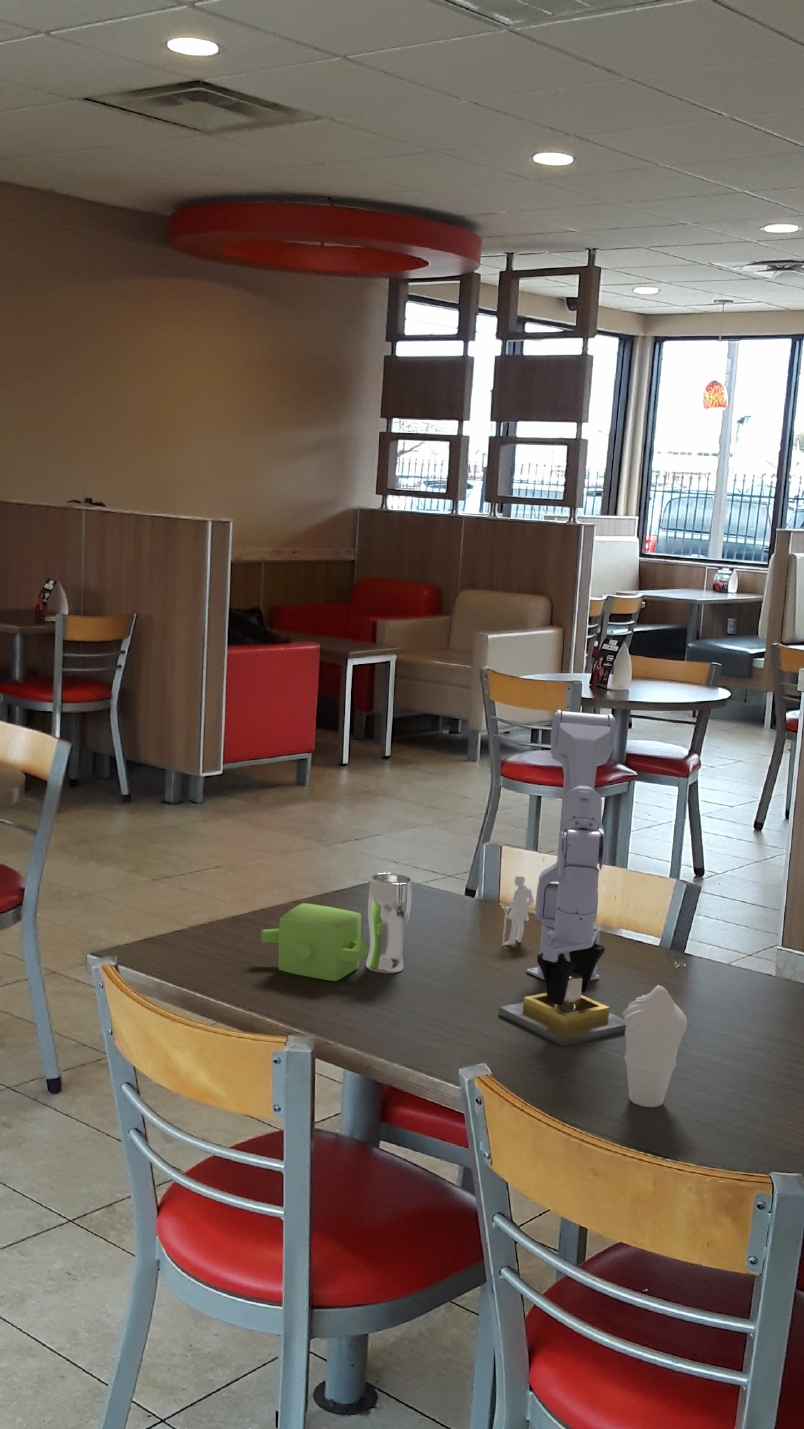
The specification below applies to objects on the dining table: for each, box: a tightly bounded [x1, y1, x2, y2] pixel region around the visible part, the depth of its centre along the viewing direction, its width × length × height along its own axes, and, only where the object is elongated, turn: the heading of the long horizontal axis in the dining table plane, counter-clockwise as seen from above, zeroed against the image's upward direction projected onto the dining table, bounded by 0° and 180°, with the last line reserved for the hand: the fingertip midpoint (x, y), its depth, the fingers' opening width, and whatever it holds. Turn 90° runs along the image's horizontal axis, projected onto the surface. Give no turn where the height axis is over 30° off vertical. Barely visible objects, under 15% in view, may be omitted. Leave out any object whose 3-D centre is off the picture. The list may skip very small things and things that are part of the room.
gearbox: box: [260, 902, 369, 982], centre depth 227 cm, size 18×10×10 cm, turn 67°
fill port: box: [498, 992, 626, 1048], centre depth 213 cm, size 14×14×3 cm
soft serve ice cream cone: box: [622, 984, 688, 1108], centre depth 185 cm, size 8×8×16 cm
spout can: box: [550, 972, 582, 1013], centre depth 212 cm, size 4×4×8 cm
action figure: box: [500, 874, 535, 947], centre depth 249 cm, size 6×4×12 cm, turn 133°
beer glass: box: [365, 872, 413, 974], centre depth 231 cm, size 7×7×15 cm
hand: (567, 997), depth 212 cm, fingers open, 7 cm apart
